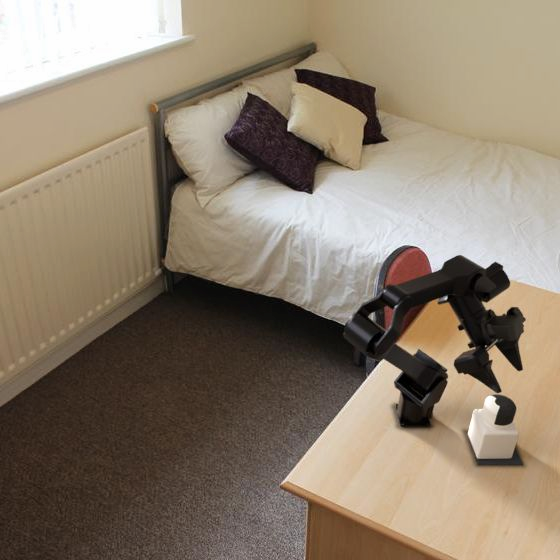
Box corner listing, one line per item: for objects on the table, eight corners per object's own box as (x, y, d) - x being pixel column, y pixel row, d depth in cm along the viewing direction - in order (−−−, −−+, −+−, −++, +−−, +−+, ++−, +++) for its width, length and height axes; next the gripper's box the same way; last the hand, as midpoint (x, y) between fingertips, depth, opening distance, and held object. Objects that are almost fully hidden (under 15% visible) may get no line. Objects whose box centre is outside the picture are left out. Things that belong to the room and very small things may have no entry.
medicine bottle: (500, 433, 148) (513, 389, 141) (511, 459, 142) (525, 415, 135) (466, 433, 147) (478, 390, 141) (476, 459, 141) (489, 415, 135)
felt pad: (478, 465, 140) (478, 464, 140) (466, 432, 148) (466, 431, 148) (522, 465, 141) (522, 464, 141) (508, 432, 148) (508, 431, 148)
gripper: (479, 322, 129) (522, 396, 129) (525, 282, 141) (564, 350, 141) (435, 337, 138) (475, 407, 138) (482, 299, 149) (519, 363, 149)
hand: (510, 381), depth 141 cm, fingers open, 9 cm apart
